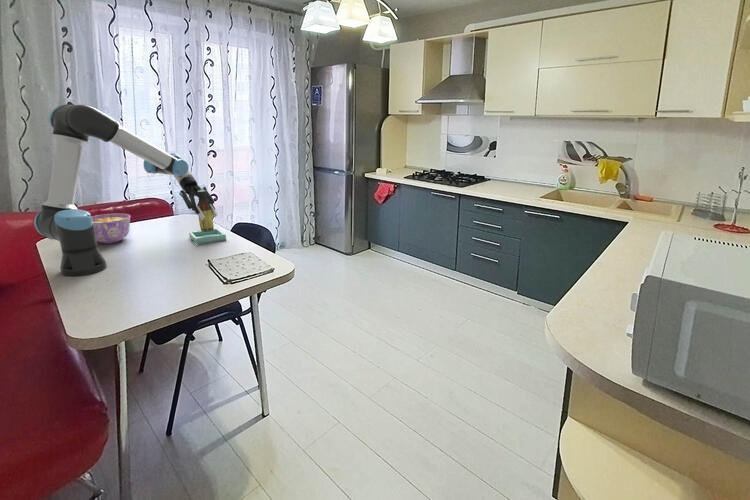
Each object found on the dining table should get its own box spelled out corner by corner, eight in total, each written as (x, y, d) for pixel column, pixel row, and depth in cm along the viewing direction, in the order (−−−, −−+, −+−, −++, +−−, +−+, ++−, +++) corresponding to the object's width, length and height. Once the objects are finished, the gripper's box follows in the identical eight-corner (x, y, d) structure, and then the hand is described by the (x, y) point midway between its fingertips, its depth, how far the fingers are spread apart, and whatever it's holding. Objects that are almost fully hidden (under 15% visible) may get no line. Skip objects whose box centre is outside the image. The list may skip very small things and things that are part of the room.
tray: (226, 240, 210) (225, 234, 209) (196, 244, 202) (195, 238, 201) (218, 233, 221) (217, 228, 220) (189, 238, 213) (189, 232, 212)
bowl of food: (119, 247, 197) (114, 223, 194) (76, 246, 198) (71, 222, 194) (142, 235, 216) (138, 213, 213) (103, 235, 217) (99, 213, 213)
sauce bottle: (216, 229, 213) (212, 189, 207) (210, 232, 207) (206, 192, 201) (203, 228, 214) (199, 189, 208) (197, 232, 208) (192, 191, 202)
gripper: (201, 182, 220) (223, 218, 216) (165, 187, 205) (189, 225, 201) (206, 173, 215) (229, 209, 211) (169, 177, 200) (194, 216, 196)
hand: (209, 217), depth 206 cm, fingers closed on sauce bottle, 6 cm apart
